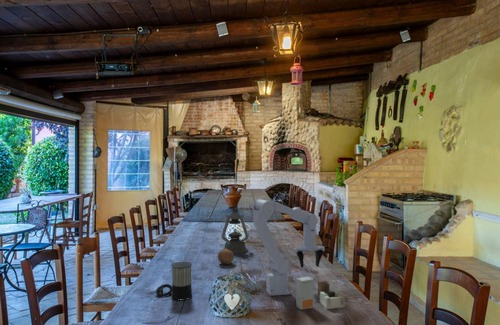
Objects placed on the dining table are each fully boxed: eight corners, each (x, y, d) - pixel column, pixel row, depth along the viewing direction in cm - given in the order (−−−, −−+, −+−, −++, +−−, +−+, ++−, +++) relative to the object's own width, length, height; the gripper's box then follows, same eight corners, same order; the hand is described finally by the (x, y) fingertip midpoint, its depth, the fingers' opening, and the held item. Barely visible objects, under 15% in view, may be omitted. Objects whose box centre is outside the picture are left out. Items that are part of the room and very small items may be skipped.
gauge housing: (319, 301, 165) (319, 291, 165) (337, 300, 166) (336, 290, 166) (326, 308, 157) (326, 298, 157) (344, 307, 159) (344, 296, 158)
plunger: (322, 297, 167) (322, 287, 167) (330, 296, 168) (330, 286, 168) (328, 302, 161) (328, 292, 161) (336, 302, 161) (336, 292, 161)
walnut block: (320, 298, 169) (320, 284, 169) (317, 295, 173) (317, 282, 173) (329, 297, 170) (329, 284, 169) (326, 294, 173) (326, 281, 173)
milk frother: (193, 299, 168) (193, 266, 168) (156, 303, 164) (156, 269, 164) (189, 289, 182) (189, 258, 182) (155, 292, 178) (155, 260, 178)
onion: (225, 267, 227) (225, 250, 232) (237, 265, 222) (237, 248, 226) (214, 264, 221) (214, 247, 225) (226, 262, 215) (226, 245, 220)
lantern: (243, 245, 269) (243, 203, 269) (252, 252, 250) (252, 206, 250) (218, 247, 264) (218, 204, 263) (226, 254, 244) (225, 208, 244)
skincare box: (301, 310, 156) (301, 281, 156) (296, 306, 160) (295, 278, 160) (314, 307, 158) (313, 279, 158) (308, 304, 162) (308, 276, 162)
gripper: (297, 240, 178) (297, 269, 178) (327, 239, 180) (327, 267, 181) (293, 237, 185) (293, 265, 185) (321, 236, 187) (321, 263, 188)
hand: (309, 266), depth 183 cm, fingers open, 7 cm apart
